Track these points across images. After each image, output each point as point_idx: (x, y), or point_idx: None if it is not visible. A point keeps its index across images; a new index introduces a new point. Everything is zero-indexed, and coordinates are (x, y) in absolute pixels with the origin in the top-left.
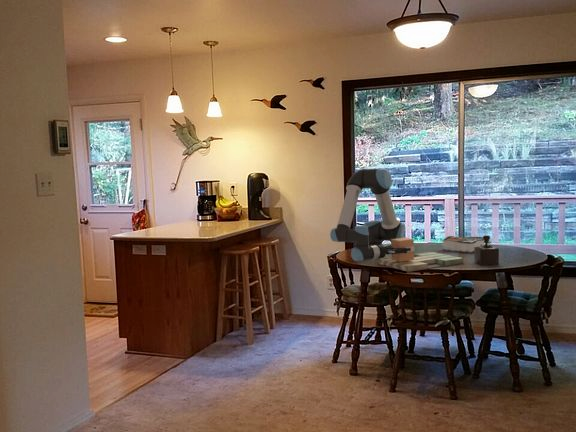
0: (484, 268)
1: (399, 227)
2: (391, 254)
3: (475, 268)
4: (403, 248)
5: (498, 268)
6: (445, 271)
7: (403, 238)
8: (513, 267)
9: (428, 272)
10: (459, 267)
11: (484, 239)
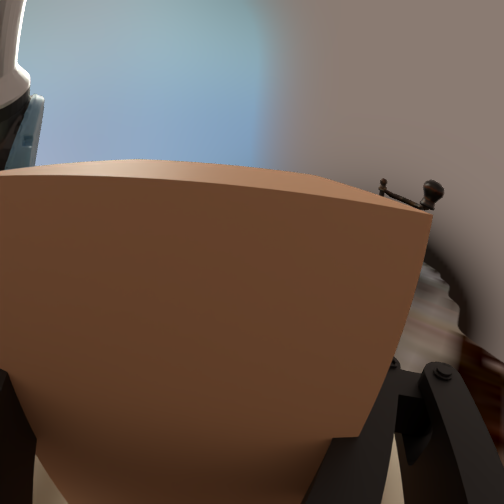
0: (439, 300)
1: (24, 113)
2: (50, 475)
3: (436, 309)
4: (439, 401)
5: (443, 288)
6: (482, 386)
7: (166, 162)
8: (435, 273)
9: (500, 454)
10: (408, 323)
11: (436, 196)
